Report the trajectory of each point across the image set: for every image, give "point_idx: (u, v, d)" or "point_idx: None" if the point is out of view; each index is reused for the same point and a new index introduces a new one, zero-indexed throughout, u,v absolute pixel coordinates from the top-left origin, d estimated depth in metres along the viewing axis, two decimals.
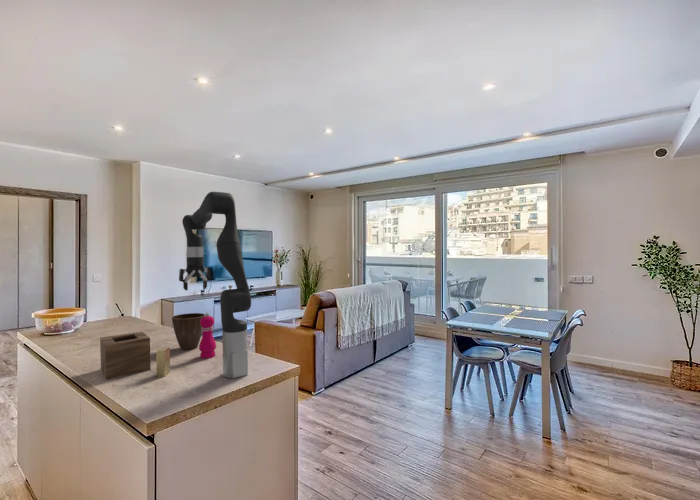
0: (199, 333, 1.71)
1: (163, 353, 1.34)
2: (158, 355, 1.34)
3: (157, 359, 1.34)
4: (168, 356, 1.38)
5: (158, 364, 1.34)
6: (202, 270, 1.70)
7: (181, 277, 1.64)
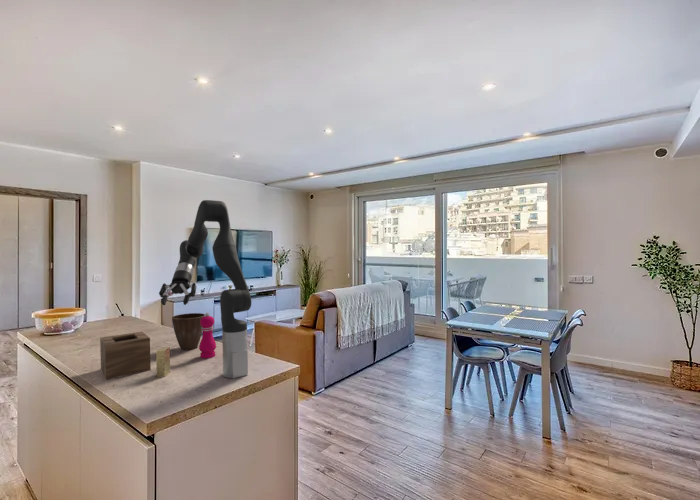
0: (199, 333, 1.71)
1: (163, 354, 1.34)
2: (158, 355, 1.34)
3: (157, 359, 1.34)
4: (168, 356, 1.38)
5: (158, 364, 1.34)
6: (186, 285, 1.54)
7: (161, 290, 1.50)
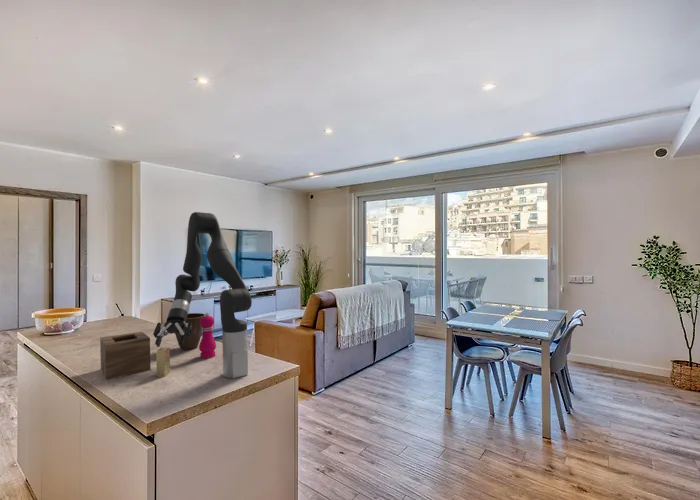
0: (199, 333, 1.71)
1: (163, 354, 1.34)
2: (158, 355, 1.34)
3: (157, 359, 1.34)
4: (168, 356, 1.38)
5: (158, 364, 1.34)
6: (181, 324, 1.48)
7: (155, 330, 1.44)
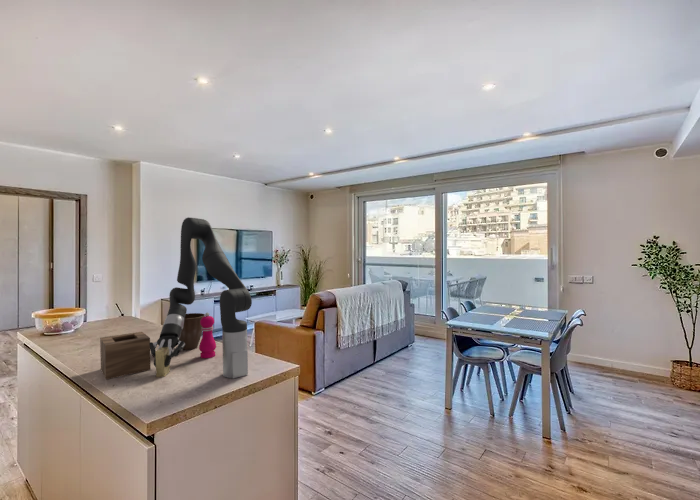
0: (199, 333, 1.71)
1: (163, 354, 1.33)
2: (157, 355, 1.33)
3: (156, 359, 1.33)
4: None
5: (157, 364, 1.33)
6: (174, 342, 1.40)
7: (151, 350, 1.37)
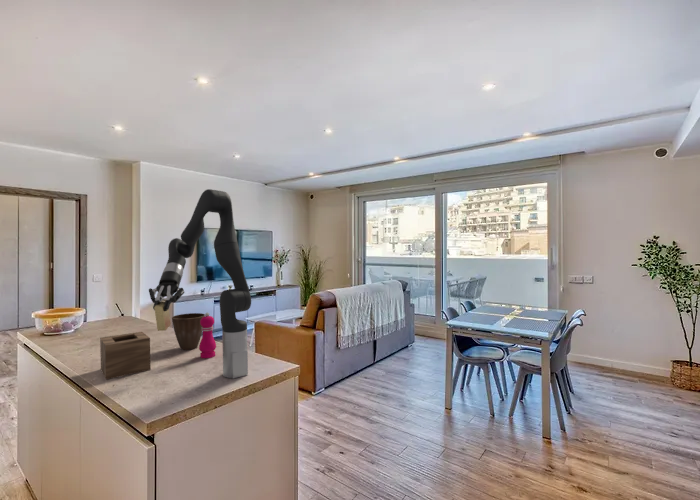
0: (199, 333, 1.71)
1: (162, 309, 1.33)
2: (157, 311, 1.33)
3: (156, 314, 1.33)
4: (167, 310, 1.37)
5: (157, 319, 1.34)
6: (173, 289, 1.40)
7: (151, 296, 1.37)
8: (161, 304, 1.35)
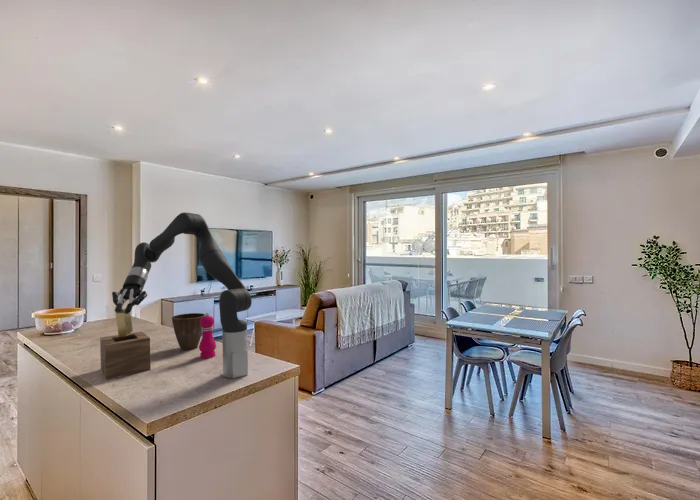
0: (199, 333, 1.71)
1: (123, 315, 1.39)
2: (118, 317, 1.39)
3: (117, 320, 1.39)
4: (129, 317, 1.43)
5: (119, 325, 1.39)
6: (136, 292, 1.46)
7: (114, 299, 1.43)
8: (123, 311, 1.41)
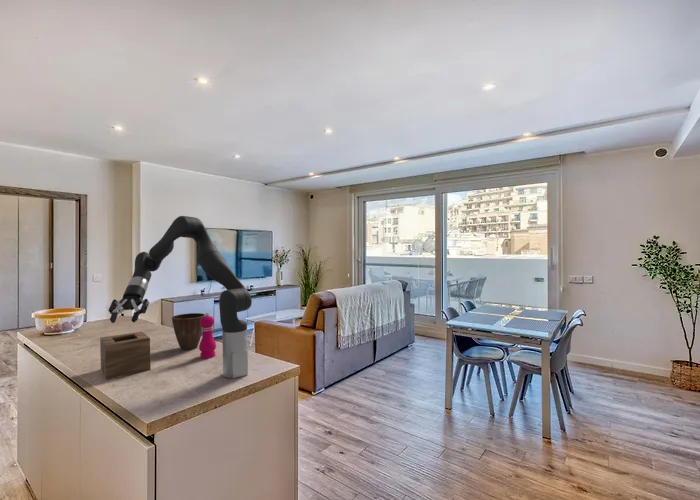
0: (199, 333, 1.71)
1: None
2: None
3: None
4: None
5: None
6: (137, 301, 1.47)
7: (110, 307, 1.44)
8: None
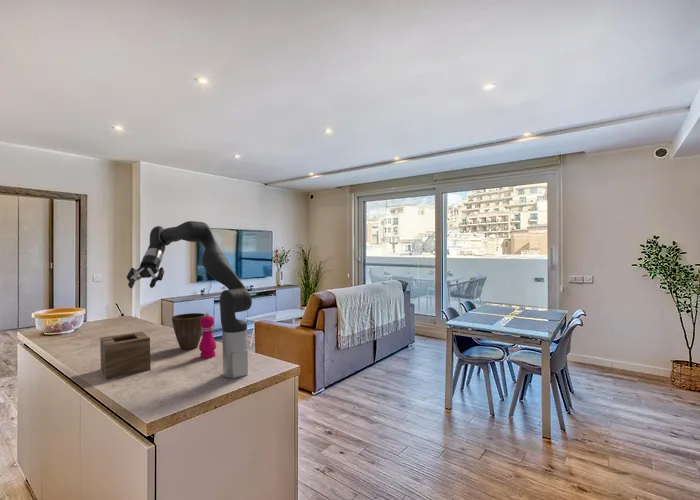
0: (199, 333, 1.71)
1: None
2: None
3: None
4: None
5: None
6: (153, 269, 1.58)
7: (128, 274, 1.55)
8: None
